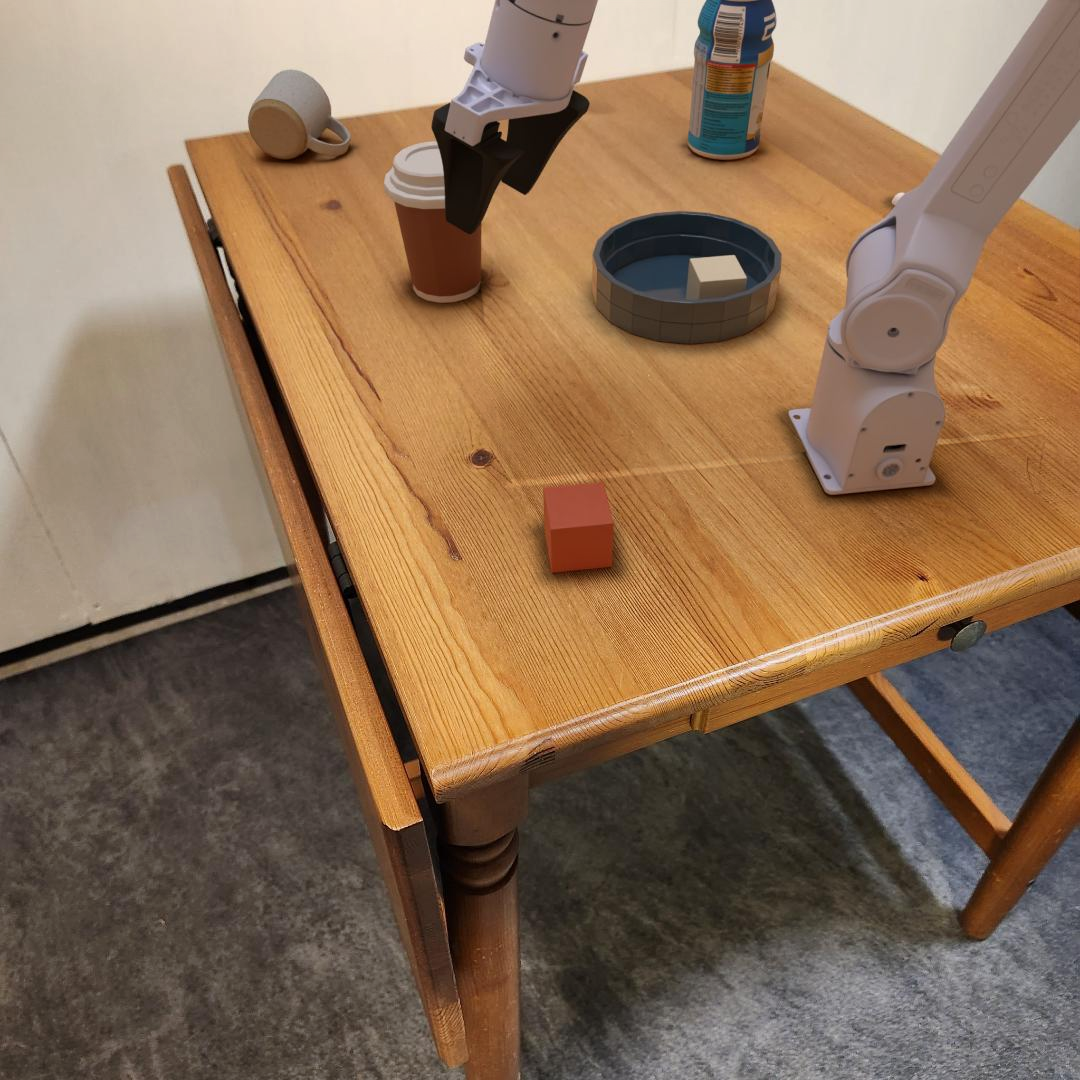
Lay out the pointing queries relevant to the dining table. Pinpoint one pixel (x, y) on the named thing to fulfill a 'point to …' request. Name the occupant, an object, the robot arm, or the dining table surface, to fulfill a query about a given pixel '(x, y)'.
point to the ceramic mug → (294, 117)
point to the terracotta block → (578, 527)
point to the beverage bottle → (730, 77)
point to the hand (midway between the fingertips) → (488, 205)
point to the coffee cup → (432, 228)
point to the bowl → (682, 276)
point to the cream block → (714, 277)
